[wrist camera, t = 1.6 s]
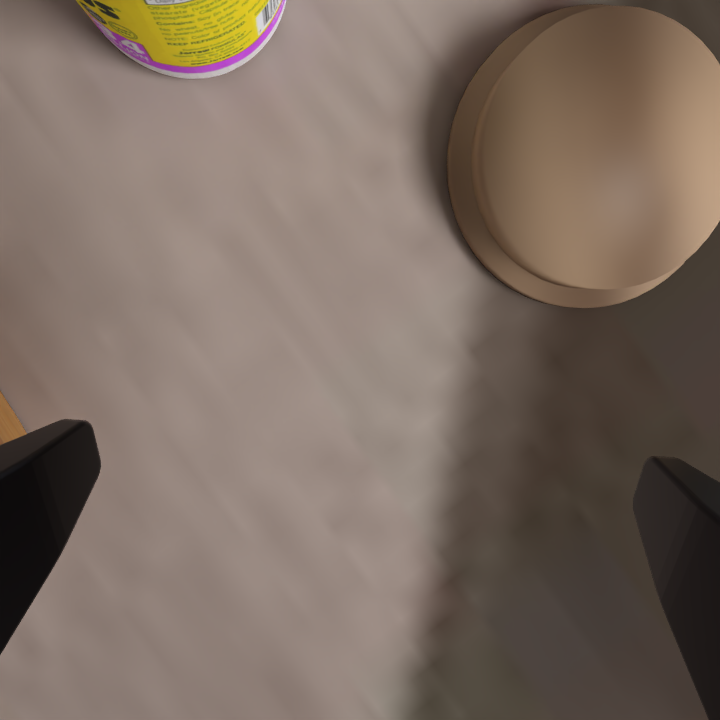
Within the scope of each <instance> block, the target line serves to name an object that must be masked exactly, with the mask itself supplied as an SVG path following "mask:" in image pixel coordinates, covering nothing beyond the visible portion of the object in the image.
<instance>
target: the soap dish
mask: <svg viewBox="0 0 720 720" xmlns="http://www.w3.org/2000/svg"><path fill="white" fill-rule="evenodd" d="M26 434H27V433H26V432H25V430H24V428H23V426H22V425H21V423H20V421H19V420H18V418H17V417H16V415H15V413H14V412H13V410H12V409H11V407H10V406H9V404H8V402H7V401H6V399H5V398H4V396H3V394H2V393H1V391H0V445H1V444H4V443H6V442H9V441H11V440H14V439H16V438H18V437H21V436H23V435H26Z"/></svg>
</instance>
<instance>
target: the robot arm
mask: <svg viewBox="0 0 720 720" xmlns="http://www.w3.org/2000/svg"><path fill="white" fill-rule="evenodd" d="M100 468H101V460H100V455H99V451H98V447H97V443H96V439H95V435H94V431H93V427H92V425H91V424H90V423H89V422H87V421H85V420H71V419H63V420H60V421H57V422H55V423H52V424H50V425H47V426H45V427H43V428H40V429H38V430H35V431H33V432H30V433H28V434H26V435H23V436H21V437H18V438H16V439H14V440H11V441H9V442H6V443H4V444H1V445H0V655H1V653H2V651H3V650H4V648H5V646H6V645H7V643H8V641H9V640H10V638H11V637H12V635H13V633H14V632H15V630H16V628H17V627H18V625H19V623H20V622H21V620H22V618H23V617H24V615H25V613H26V612H27V610H28V609H29V607H30V605H31V604H32V602H33V600H34V599H35V597H36V595H37V594H38V592H39V590H40V589H41V587H42V585H43V584H44V582H45V581H46V579H47V577H48V576H49V574H50V572H51V571H52V569H53V567H54V566H55V564H56V562H57V560H58V559H59V557H60V555H61V553H62V551H63V549H64V547H65V545H66V543H67V541H68V539H69V537H70V535H71V533H72V531H73V529H74V527H75V525H76V522H77V520H78V518H79V516H80V514H81V512H82V510H83V508H84V506H85V503H86V501H87V499H88V497H89V495H90V493H91V491H92V489H93V487H94V484H95V482H96V480H97V478H98V476H99V473H100ZM633 511H634V515H635V518H636V522H637V525H638V529H639V532H640V535H641V539H642V542H643V546H644V549H645V553H646V556H647V560H648V563H649V566H650V570H651V573H652V577H653V580H654V584H655V587H656V590H657V593H658V596H659V599H660V602H661V605H662V608H663V610H664V613H665V615H666V618H667V620H668V623H669V625H670V628H671V630H672V632H673V635H674V637H675V640H676V642H677V644H678V647H679V649H680V652H681V654H682V656H683V659H684V661H685V664H686V666H687V669H688V671H689V673H690V676H691V678H692V681H693V683H694V685H695V688H696V690H697V693H698V695H699V697H700V700H701V702H702V705H703V707H704V710H705V712H706V714H707V717H708V719H709V720H720V483H719V482H718V481H716V480H714V479H713V478H711V477H709V476H708V475H706V474H704V473H702V472H701V471H699V470H697V469H696V468H694V467H692V466H691V465H689V464H687V463H686V462H684V461H682V460H680V459H678V458H675V457H660V456H651V457H649V458H648V459H647V460H646V461H645V463H644V465H643V469H642V472H641V475H640V478H639V481H638V484H637V487H636V491H635V494H634V497H633Z"/></svg>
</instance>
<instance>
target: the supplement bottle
mask: <svg viewBox="0 0 720 720" xmlns="http://www.w3.org/2000/svg"><path fill="white" fill-rule="evenodd" d="M76 1H77V2H78V4H79V5H80V6H81V7H82V9H83V10H84V11H85V12H86V14H87V15H88V16H89V17H90V19H91V20H92V21H93V22H94V24H95V25H96V26H97V27H98V28H99V29H100V30H101V32H102V33H103V34H104V35H105V36H106V37H107V38H108V39H109V40H110V41H111V42H112V43H113V44H114V45H115V46H116V47H117V48H118V49H119V50H120V51H122V52H123V53H124V54H125V55H127V56H128V57H130V58H131V59H133V60H134V61H136V62H137V63H139V64H141V65H143V66H144V67H146V68H149V69H151V70H153V71H156V72H159V73H161V74H165V75H169V76H173V77H178V78H186V79H201V78H210V77H215V76H219V75H223V74H226V73H228V72H230V71H232V70H234V69H236V68H238V67H239V66H241V65H243V64H244V63H246V62H247V61H249V60H250V59H251V58H253V57H254V56H255V55H256V54H257V53H258V52H259V51H260V50H261V49H262V48H263V47H264V46H265V44H266V43H267V42H268V41H269V39H270V38H271V36H272V35H273V33H274V32H275V30H276V28H277V26H278V24H279V22H280V20H281V17H282V14H283V11H284V8H285V4H286V0H76Z"/></svg>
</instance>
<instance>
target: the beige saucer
mask: <svg viewBox="0 0 720 720" xmlns="http://www.w3.org/2000/svg"><path fill="white" fill-rule="evenodd" d="M447 183H448V189H449V194H450V200H451V204H452V208H453V211H454V214H455V218H456V221H457V223H458V225H459V227H460V230H461V232H462V234H463V236H464V238H465V240H466V241H467V243H468V245H469V246H470V248H471V250H472V251H473V253H474V254H475V255H476V257H477V258H478V259H479V260H480V262H481V263H482V264H483V265H484V266H485V268H487V269H488V270H489V271H490V272H491V273H492V274H493V275H494V276H495V277H496V278H497V279H498V280H500V281H501V282H503V283H504V284H505V285H507V286H508V287H510V288H511V289H512V290H514V291H516V292H518V293H520V294H522V295H524V296H526V297H528V298H531V299H534V300H537V301H539V302H542V303H546V304H551V305H556V306H562V307H576V308H593V307H604V306H608V305H613V304H617V303H621V302H624V301H627V300H629V299H632V298H635V297H637V296H639V295H641V294H643V293H645V292H647V291H649V290H651V289H653V288H654V287H655V286H657V285H658V284H660V283H661V282H663V281H664V280H666V279H667V278H668V277H669V276H670V275H672V274H673V273H674V272H675V271H676V270H677V269H678V268H679V267H680V266H681V265H682V264H683V263H684V262H685V261H686V260H687V259H688V258H689V257H690V256H691V255H692V254H693V253H694V252H696V251H697V250H698V248H699V247H700V246H701V245H702V244H703V243H704V242H705V241H706V239H707V238H708V237H709V236H710V234H711V233H712V231H713V230H714V228H715V227H716V225H717V224H718V222H719V220H720V64H719V63H718V61H717V60H716V58H715V57H714V55H713V54H712V53H711V51H710V50H709V49H708V48H707V47H706V46H705V44H704V43H703V42H702V41H701V40H700V39H699V38H698V37H696V36H695V35H694V34H693V33H692V32H691V31H690V30H688V29H687V28H685V27H684V26H682V25H681V24H679V23H678V22H676V21H675V20H673V19H671V18H668V17H666V16H664V15H662V14H660V13H657V12H654V11H650V10H647V9H643V8H638V7H630V6H610V5H602V4H597V5H579V6H573V7H567V8H563V9H560V10H556V11H553V12H550V13H547V14H545V15H543V16H541V17H539V18H537V19H535V20H533V21H531V22H529V23H527V24H526V25H524V26H523V27H521V28H520V29H518V30H517V31H515V32H514V33H512V34H511V35H510V36H509V37H508V38H507V39H506V40H505V41H503V42H502V43H501V44H500V45H499V46H498V47H497V48H496V49H495V50H494V51H493V53H492V54H491V55H490V56H489V57H488V58H487V60H486V61H485V62H484V63H483V64H482V66H481V67H480V68H479V69H478V71H477V72H476V74H475V75H474V77H473V78H472V80H471V81H470V83H469V84H468V86H467V88H466V90H465V92H464V94H463V96H462V98H461V100H460V102H459V105H458V108H457V111H456V114H455V116H454V119H453V122H452V127H451V132H450V137H449V141H448V152H447Z"/></svg>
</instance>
